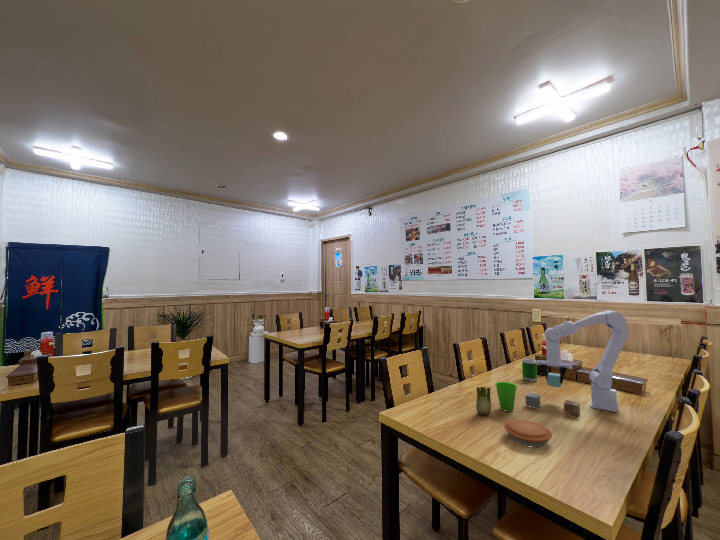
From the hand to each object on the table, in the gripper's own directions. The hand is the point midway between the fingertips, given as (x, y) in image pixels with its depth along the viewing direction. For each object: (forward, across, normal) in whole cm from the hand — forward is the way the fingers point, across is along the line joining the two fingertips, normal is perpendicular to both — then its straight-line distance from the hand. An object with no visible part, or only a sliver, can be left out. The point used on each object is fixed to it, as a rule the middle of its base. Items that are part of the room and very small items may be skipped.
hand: (554, 382), depth 149 cm
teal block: (+1, 0, 0) cm, 1 cm away
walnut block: (+10, -8, +12) cm, 17 cm away
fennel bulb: (+10, +21, +36) cm, 43 cm away
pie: (+10, +1, +48) cm, 49 cm away
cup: (+10, +15, +24) cm, 30 cm away
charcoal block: (+10, +7, +12) cm, 17 cm away
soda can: (+10, +18, -31) cm, 37 cm away
